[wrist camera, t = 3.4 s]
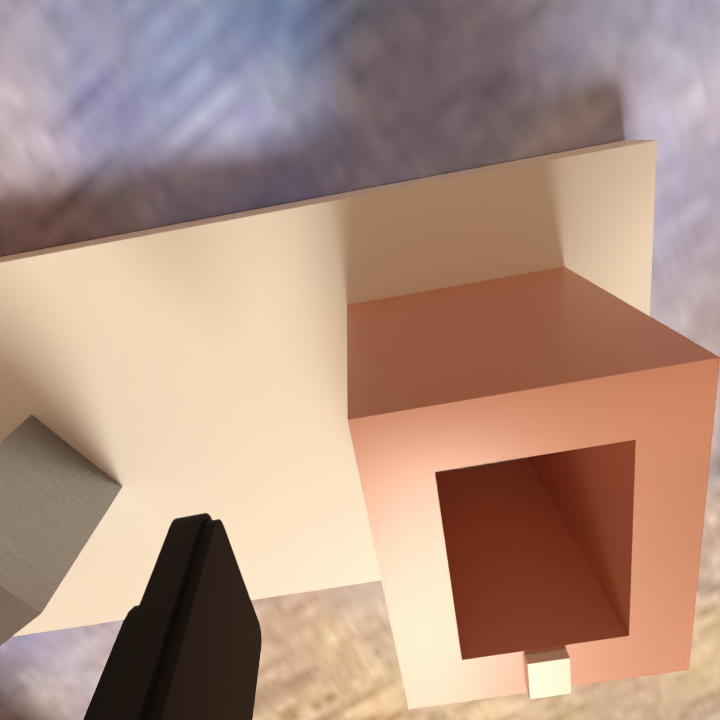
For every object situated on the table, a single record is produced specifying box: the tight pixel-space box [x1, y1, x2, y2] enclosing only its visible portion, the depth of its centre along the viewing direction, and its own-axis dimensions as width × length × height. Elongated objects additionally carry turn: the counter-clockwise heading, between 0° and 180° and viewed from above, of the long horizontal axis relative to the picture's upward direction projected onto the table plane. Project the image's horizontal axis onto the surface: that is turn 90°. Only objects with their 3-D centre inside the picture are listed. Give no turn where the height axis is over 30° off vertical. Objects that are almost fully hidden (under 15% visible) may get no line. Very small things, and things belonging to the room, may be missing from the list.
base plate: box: [0, 140, 657, 637], centre depth 16 cm, size 22×12×2 cm, turn 100°
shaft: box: [0, 415, 122, 645], centre depth 13 cm, size 2×3×4 cm, turn 40°
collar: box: [347, 266, 720, 709], centre depth 12 cm, size 6×7×6 cm
